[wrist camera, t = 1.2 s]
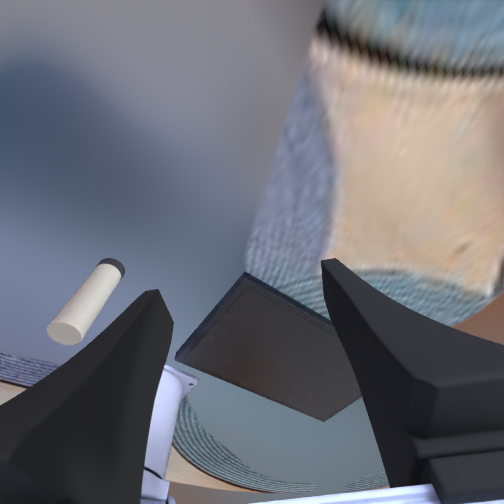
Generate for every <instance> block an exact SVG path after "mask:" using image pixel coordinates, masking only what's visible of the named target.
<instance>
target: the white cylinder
mask: <svg viewBox="0 0 504 504" xmlns="http://www.w3.org/2000/svg"><path fill="white" fill-rule="evenodd" d="M124 273H125V269H124V266H123V265H122V264H121V263H120V262H119V261H117V260H115V259H112V258H107V259H103V260H101V261H100V262H99V264H98V265H97V266H96V268H95V269H94V270H93V272H92V273H91V274H90V275H89V277H88V278H87V279H86V280H85V281H84V283H83V284H82V285H81V286H80V288H79V289H78V290H77V291H76V293H75V294H74V295H73V296H72V298H71V299H70V300H69V301H68V302H67V304H66V305H65V306H64V307H63V308H62V310H61V311H60V312H59V313H58V315H57V316H56V317H55V318H54V319H53V321H52V322H51V323H50V324H49V326H48V327H47V333H48V335H49V337H50V338H51V339H52V340H54V341H55V342H57V343H59V344H62V345H76V344H78V343H80V342H81V340H82V339H83V337H84V336H85V334H86V333H87V331H88V330H89V328H90V326H91V325H92V323H93V322H94V320H95V319H96V317H97V315H98V314H99V312H100V311H101V309H102V308H103V306H104V305H105V303H106V301H107V300H108V298H109V297H110V295H111V293H112V292H113V290H114V289H115V287H116V286H117V284H118V283H119V281H120V280H121V279H122V277H123V275H124Z"/></svg>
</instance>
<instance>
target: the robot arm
mask: <svg viewBox="0 0 504 504" xmlns="http://www.w3.org/2000/svg"><path fill="white" fill-rule="evenodd" d="M321 267H322V280H323V292H324V299H325V303H326V306H327V309H328V313H329V316H330V319H331V321H332V323H333V326H334V328H335V330H336V332H337V335H338V337H339V339H340V341H341V343H342V346H343V348H344V350H345V352H346V355H347V357H348V359H349V361H350V363H351V366H352V368H353V371H354V374H355V376H356V379H357V382H358V385H359V388H360V391H361V394H362V397H363V400H364V403H365V407H366V410H367V412H368V416H369V419H370V422H371V425H372V428H373V432H374V435H375V438H376V441H377V445H378V448H379V451H380V454H381V458H382V461H383V465H384V468H385V471H386V475H387V478H388V481H389V485H390V488H387V489H378V490H369V491H360V492H351V493H342V494H333V495H323V496H314V497H305V498H296V499H287V500H278V501H269V502H259V503H251V504H504V345H502V344H498V343H495V342H492V341H488V340H485V339H482V338H479V337H476V336H473V335H470V334H468V333H465V332H462V331H459V330H457V329H454V328H451V327H449V326H446V325H444V324H441V323H439V322H437V321H435V320H432V319H430V318H428V317H426V316H423V315H421V314H419V313H417V312H415V311H413V310H411V309H409V308H407V307H405V306H403V305H402V304H400V303H398V302H396V301H394V300H392V299H391V298H389V297H387V296H386V295H384V294H383V293H381V292H380V291H378V290H377V289H375V288H374V287H372V286H371V285H369V284H368V283H367V282H365V281H364V280H363V279H361V278H360V277H359V276H357V275H356V274H355V273H353V272H352V271H351V270H350V269H348V268H347V267H346V266H345V265H344V264H342V263H341V262H340V261H339V260H337V259H336V258H333V259H327V260H322V261H321ZM173 324H174V322H173V320H172V317H171V315H170V313H169V311H168V309H167V307H166V305H165V302H164V300H163V298H162V296H161V294H160V292H159V290H158V289H156V290H149V291H145V292H144V293H143V294H141V295H140V296H139V297H138V298H137V299H136V300H135V301H134V302H133V303H132V304H131V305H130V306H129V307H128V308H127V309H126V310H125V311H124V312H123V313H122V314H121V315H120V316H119V317H117V318H116V320H115V321H113V322H112V323H111V324H110V325H109V326H108V327H107V328H106V329H105V330H104V331H103V332H101V333H100V334H99V335H98V336H97V337H96V338H95V339H94V340H93V341H92V342H90V343H89V344H88V345H87V346H86V347H85V348H83V349H82V350H81V351H80V352H78V353H77V354H76V355H75V356H73V357H72V358H71V359H70V360H68V361H67V362H66V363H64V364H63V365H62V366H60V367H59V368H57V369H56V370H55V371H53V372H52V373H50V374H49V375H47V376H46V377H45V378H43V379H42V380H40V381H39V382H37V383H36V384H34V385H33V386H31V387H30V388H28V389H27V390H25V391H23V392H22V393H20V394H19V395H17V396H15V397H14V398H12V399H10V400H9V401H7V402H5V403H4V404H2V405H0V504H175V501H174V498H173V497H172V496H167V494H168V489H169V483H170V482H169V481H166V480H164V479H165V474H166V469H167V464H168V459H169V454H170V449H171V445H172V440H173V435H174V430H175V425H176V420H177V415H178V410H179V405H180V401H181V400H182V399H183V398H184V397H185V396H186V395H187V394H188V393H189V392H190V391H191V390H192V389H193V388H194V387H195V386H196V385H197V384H198V378H197V377H195V376H193V375H190V374H188V373H185V372H183V371H180V370H178V369H175V368H173V367H170V366H168V365H165V362H166V359H167V355H168V352H169V348H170V344H171V339H172V332H173Z"/></svg>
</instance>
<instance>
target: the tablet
mask: <svg viewBox="0 0 504 504" xmlns="http://www.w3.org/2000/svg"><path fill="white" fill-rule="evenodd" d="M175 361H178V362H180V363H183V364H185V365H188V366H190V367H193V368H195V369H197V370H200V371H202V372H204V373H207V374H209V375H212V376H214V377H217V378H219V379H221V380H224V381H226V382H229V383H231V384H233V385H236V386H238V387H241V388H243V389H246V390H248V391H251V392H253V393H255V394H258V395H260V396H263V397H265V398H267V399H270V400H272V401H275V402H277V403H280V404H282V405H285V406H287V407H289V408H292V409H294V410H297V411H299V412H301V413H304V414H306V415H309V416H311V417H313V418H316V419H318V420H321V421H323V422H325V421H326V420H327V419H329V418H331V417H332V416H334V415H335V414H336V413H338V412H340V411H341V410H342V409H344V408H346V407H347V406H349V405H350V404H352V403H353V402H355V401H356V400H358V399H359V398H361V397H362V394H361V391H360V388H359V385H358V382H357V379H356V376H355V374H354V371H353V368H352V366H351V363H350V361H349V359H348V357H347V355H346V352H345V350H344V348H343V346H342V343H341V341H340V339H339V337H338V335H337V332H336V330H335V328H334V326H333V323H332V321H330V320H328V319H327V318H325V317H323V316H321V315H320V314H318V313H316V312H315V311H313V310H311V309H309V308H308V307H306V306H304V305H302V304H301V303H299V302H297V301H295V300H294V299H292V298H290V297H288V296H287V295H285V294H283V293H281V292H280V291H278V290H276V289H275V288H273V287H271V286H269V285H268V284H266V283H264V282H262V281H261V280H259V279H257V278H255V277H254V276H252V275H250V274H248V273H247V272H244V273H243V275H242V276H241V277H240V278H239V279H238V280H237V282H236V283H235V284H234V285H233V286H232V288H231V289H230V290H229V291H228V292H227V293H226V295H225V296H224V297H223V298H222V299H221V300H220V302H219V303H218V304H217V305H216V306H215V307H214V309H213V310H212V311H211V312H210V313H209V314H208V316H207V317H206V318H205V319H204V320H203V322H202V323H201V324H200V325H199V326H198V328H197V329H196V330H195V331H194V332H193V333H192V335H191V336H190V337H189V338H188V339H187V340H186V342H185V343H184V344H183V345H182V346H181V347H180V349H179V350H178V351H177V352H176V356H175Z"/></svg>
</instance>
